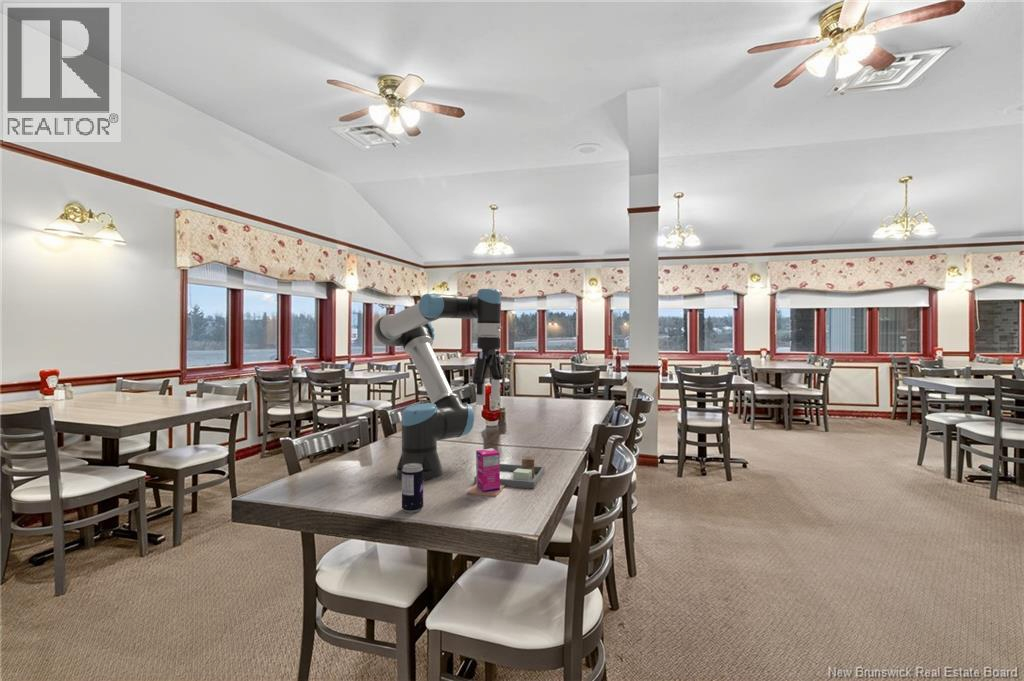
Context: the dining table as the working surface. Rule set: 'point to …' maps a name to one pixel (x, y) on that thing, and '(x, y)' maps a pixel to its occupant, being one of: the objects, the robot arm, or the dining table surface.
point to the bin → (520, 482)
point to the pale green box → (522, 474)
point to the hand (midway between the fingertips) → (488, 401)
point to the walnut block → (528, 463)
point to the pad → (477, 491)
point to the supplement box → (487, 470)
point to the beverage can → (412, 487)
